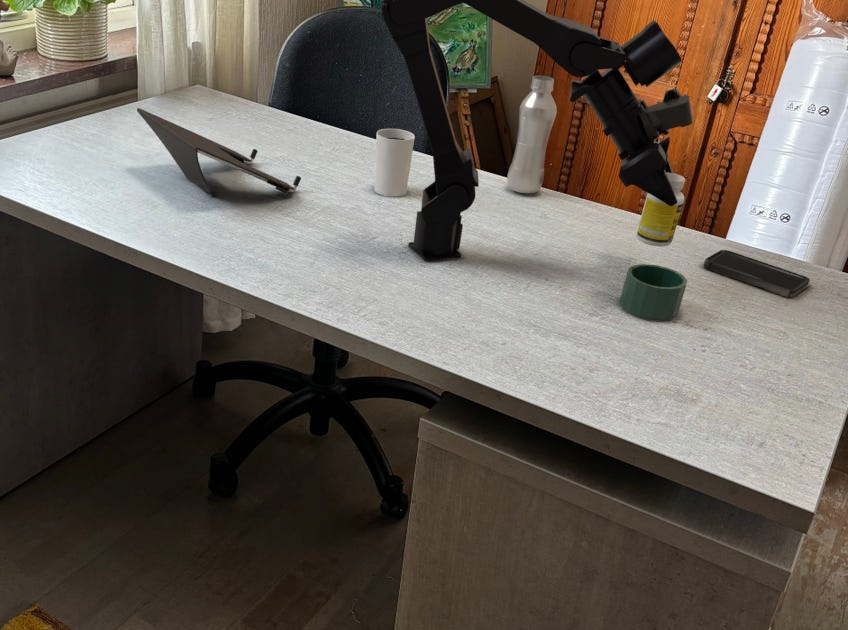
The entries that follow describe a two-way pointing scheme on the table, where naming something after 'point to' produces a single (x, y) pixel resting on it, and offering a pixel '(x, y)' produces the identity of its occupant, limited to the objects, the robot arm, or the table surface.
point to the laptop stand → (205, 153)
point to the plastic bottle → (533, 137)
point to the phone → (757, 273)
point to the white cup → (393, 161)
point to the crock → (653, 292)
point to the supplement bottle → (661, 216)
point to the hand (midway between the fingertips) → (675, 198)
